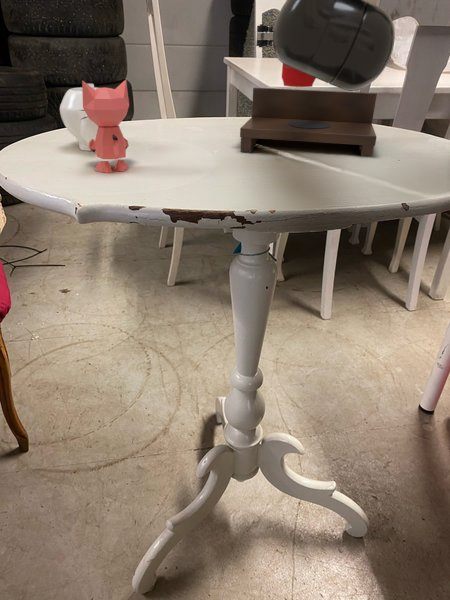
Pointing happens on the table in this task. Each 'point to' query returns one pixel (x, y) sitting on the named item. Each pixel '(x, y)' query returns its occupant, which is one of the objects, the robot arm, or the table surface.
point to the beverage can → (296, 78)
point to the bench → (311, 118)
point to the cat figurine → (107, 123)
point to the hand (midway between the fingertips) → (300, 36)
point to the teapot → (78, 117)
